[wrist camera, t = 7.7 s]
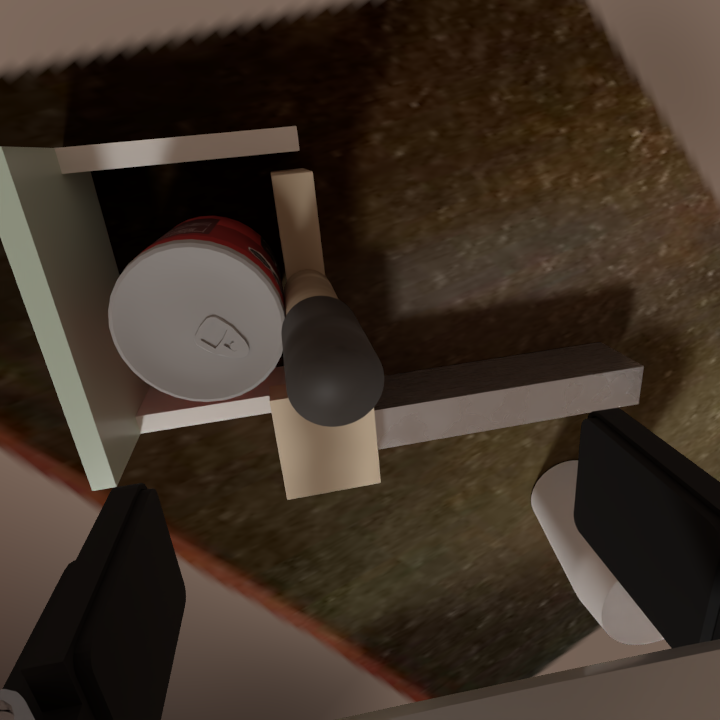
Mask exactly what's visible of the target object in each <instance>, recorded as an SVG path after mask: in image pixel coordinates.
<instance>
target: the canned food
mask: <svg viewBox="0 0 720 720" xmlns="http://www.w3.org/2000/svg"><path fill="white" fill-rule="evenodd" d="M285 317H286V310H285V302H284V294H283V287H282V280H281V273H280V267H279V264H278V262H277V259H276V256H275V254H274V253H273V251H272V249H271V248H270V246H269V245H268V243H267V242H266V241H265V240H264V239H263V238H262V237H261V236H260V235H259V234H258V233H257V232H255V231H254V230H253V229H252V228H250V227H248V226H247V225H245V224H243V223H241V222H239V221H236V220H233V219H230V218H227V217H221V216H199V217H196V218H192V219H188V220H186V221H184V222H182V223H180V224H178V225H177V226H175V227H174V228H173V229H171V230H170V231H169V232H167V233H166V234H165V235H163V236H162V237H161V238H159V239H158V240H157V241H155V242H154V243H153V244H151V245H150V246H149V247H147V248H146V249H145V250H144V251H143V252H141V253H140V254H139V255H138V256H137V257H135V258H134V259H133V260H132V261H131V262H130V263H129V264H128V265H127V266H126V268H125V269H124V270H123V272H122V273H121V275H120V276H119V277H118V280H117V281H116V284H115V286H114V288H113V291H112V293H111V296H110V302H109V308H108V318H109V329H110V332H111V335H112V339H113V342H114V344H115V346H116V348H117V350H118V352H119V354H120V355H121V357H122V359H123V360H124V361H125V362H126V364H127V365H128V366H129V367H130V369H131V370H132V371H133V372H134V373H135V374H136V375H138V376H139V377H140V378H141V379H142V380H143V381H145V382H146V383H148V384H149V385H151V386H153V387H154V388H156V389H158V390H159V391H161V392H164V393H166V394H169V395H171V396H174V397H176V398H181V399H186V400H190V401H201V402H212V401H221V400H227V399H230V398H234V397H237V396H240V395H242V394H244V393H246V392H248V391H250V390H252V389H254V388H255V387H256V386H258V385H259V384H260V383H261V382H263V381H264V380H265V379H266V378H267V377H268V376H269V374H270V373H271V372H272V371H273V370H274V368H275V366H276V365H277V363H278V361H279V359H280V357H281V355H282V351H283V347H282V336H281V331H282V324H283V321H284V319H285Z"/></svg>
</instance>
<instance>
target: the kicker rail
mask: <svg viewBox="0 0 720 720" xmlns="http://www.w3.org/2000/svg"><path fill="white" fill-rule="evenodd" d="M643 369H644V366H643V365H641V364H639V363H637V362H635V361H634V360H632V359H630V358H628V357H627V356H625V355H623V354H621V353H619V352H618V351H616V350H614V349H612V348H610V347H609V346H607V345H605V344H603V343H601V342H598V343H591V344H585V345H579V346H572V347H566V348H559V349H553V350H547V351H540V352H534V353H527V354H521V355H515V356H508V357H502V358H495V359H489V360H483V361H476V362H470V363H463V364H457V365H451V366H444V367H438V368H431V369H425V370H419V371H412V372H406V373H399V374H393V375H387V376H384V387H383V391H382V394H381V396H380V399H379V400H378V402H377V404H376V405H375V406H374V413H375V424H376V436H377V447H378V449H384V448H389V447H395V446H401V445H407V444H412V443H418V442H424V441H429V440H435V439H441V438H447V437H452V436H458V435H464V434H470V433H475V432H481V431H487V430H493V429H498V428H504V427H510V426H515V425H521V424H527V423H533V422H538V421H544V420H550V419H556V418H561V417H567V416H573V415H579V414H584V413H590V412H592V411H598V410H605V409H611V408H619V407H624V406H630V405H636V404H639V397H640V390H641V383H642V376H643Z"/></svg>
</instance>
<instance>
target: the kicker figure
mask: <svg viewBox="0 0 720 720" xmlns="http://www.w3.org/2000/svg"><path fill="white" fill-rule="evenodd" d="M270 173H271V180H272V187H273V193H274V200H275V207H276V213H277V220H278V227H279V234H280V240H281V247H282V254H283V260H284V267H285V274H286V280H287V282H286V284H285V287H284V302H285V310H286V317H285V319H284V321H283V324H282V331H281V336H282V347H283V358H284V369H285V380H286V384H282V385H275V386H269V398H270V406H271V412H272V417H273V423H274V429H275V434H276V440H277V445H278V451H279V456H280V462H281V467H282V473H283V479H284V484H285V490H286V495H287V500H289V499H295V498H300V497H306V496H311V495H317V494H322V493H328V492H333V491H338V490H344V489H349V488H355V487H360V486H366V485H371V484H377V483H381V480H380V469H379V458H378V447H377V436H376V424H375V413H374V406H375V405H376V404H377V402H378V400H379V399H380V396H381V394H382V391H383V387H384V371H383V367H382V364H381V362H380V360H379V358H378V356H377V354H376V352H375V351H374V349H373V347H372V345H371V343H370V342H369V340H368V338H367V336H366V334H365V333H364V331H363V329H362V327H361V326H360V324H359V322H358V320H357V318H356V317H355V315H354V313H353V312H352V310H351V309H350V308H349V307H348V306H347V305H346V304H345V303H343V302H342V301H340V300H339V299H338V297H337V295H336V293H335V291H334V289H333V287H332V285H331V283H330V282H329V280H328V279H327V277H326V276H325V271H324V263H323V254H322V246H321V237H320V229H319V220H318V212H317V204H316V195H315V187H314V178H313V172H312V171H309V170H307V169H304V168H300V169H290V170H280V171H271V172H270Z"/></svg>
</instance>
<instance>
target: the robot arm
mask: <svg viewBox="0 0 720 720" xmlns="http://www.w3.org/2000/svg"><path fill="white" fill-rule="evenodd" d="M574 522H575V525H576V528H577V530H578V531H579V533H580V534H581V535H582V536H583V538H584V539H585V540H586V541H587V543H588V544H589V545H590V546H591V548H592V549H593V550H594V551H595V553H596V554H597V555H598V557H599V558H600V559H601V560H602V562H603V563H604V564H605V565H606V567H607V568H608V569H609V570H610V572H611V573H612V574H613V575H614V577H615V578H616V579H617V580H618V582H619V583H620V584H621V585H622V587H623V588H624V589H625V590H626V592H627V593H628V594H629V595H630V597H631V598H632V599H633V600H634V602H635V603H636V604H637V605H638V607H639V608H640V609H641V610H642V612H643V613H644V614H645V615H646V617H647V618H648V619H649V620H650V622H651V623H652V624H653V625H654V627H655V628H656V629H657V630H658V632H659V633H660V634H661V635H662V637H663V638H664V639H665V640H666V642H667V643H668V644H669V645H670V646H671V648H672V649H668V650H662V651H658V652H653V653H648V654H643V655H638V656H634V657H628V658H624V659H619V660H615V661H609V662H605V663H600V664H595V665H590V666H585V667H580V668H575V669H570V670H565V671H561V672H556V673H551V674H546V675H542V676H537V677H532V678H528V679H523V680H518V681H513V682H509V683H504V684H499V685H495V686H490V687H485V688H480V689H476V690H471V691H466V692H462V693H457V694H452V695H448V696H443V697H438V698H434V699H429V700H424V701H420V702H415V703H410V704H405V705H401V706H396V707H392V708H387V709H383V710H378V711H373V712H369V713H364V714H360V715H355V716H350V717H346V718H342V719H337V720H720V482H719V481H717V480H716V479H715V478H713V477H712V476H711V475H709V474H708V473H707V472H705V471H704V470H703V469H701V468H700V467H698V466H697V465H696V464H694V463H693V462H692V461H690V460H689V459H688V458H686V457H685V456H684V455H682V454H681V453H680V452H678V451H677V450H675V449H674V448H673V447H671V446H670V445H669V444H667V443H666V442H665V441H663V440H662V439H661V438H659V437H658V436H656V435H655V434H654V433H652V432H651V431H650V430H648V429H647V428H646V427H644V426H643V425H642V424H640V423H639V422H637V421H636V420H635V419H633V418H632V417H631V416H629V415H628V414H627V413H625V412H624V411H623V410H621V409H619V408H611V409H605V410H598V411H592V412H591V413H590V414H589V415H588V418H587V419H585V420H583V422H582V425H581V435H580V446H579V458H578V469H577V481H576V492H575V503H574ZM185 602H186V591H185V586H184V582H183V578H182V575H181V572H180V568H179V565H178V561H177V558H176V555H175V551H174V548H173V545H172V541H171V538H170V535H169V531H168V528H167V525H166V521H165V518H164V514H163V511H162V508H161V504H160V501H159V498H158V494H157V492H156V490H155V489H147V487H146V486H145V484H143V483H140V484H133V485H127V486H121V487H115V488H113V489H112V490H111V492H110V494H109V496H108V498H107V500H106V502H105V504H104V506H103V508H102V510H101V512H100V514H99V516H98V517H97V520H96V522H95V523H94V525H93V528H92V530H91V531H90V534H89V535H88V537H87V540H86V541H85V543H84V545H83V547H82V549H81V551H80V553H79V555H78V557H77V559H76V560H75V561H73V562H71V563H70V564H69V565H68V566H67V568H66V569H65V570H64V572H63V574H62V576H61V578H60V580H59V582H58V584H57V586H56V587H55V589H54V591H53V593H52V595H51V597H50V599H49V601H48V603H47V605H46V607H45V609H44V611H43V613H42V614H41V616H40V618H39V620H38V622H37V624H36V626H35V628H34V630H33V632H32V634H31V635H30V637H29V639H28V641H27V643H26V645H25V647H24V649H23V651H22V653H21V655H20V656H19V659H18V660H17V662H16V664H15V666H14V668H13V670H12V672H11V674H10V676H9V678H8V679H7V681H6V683H5V685H4V687H3V689H1V690H0V720H161V716H162V711H163V707H164V702H165V697H166V693H167V688H168V683H169V679H170V674H171V669H172V664H173V660H174V655H175V650H176V645H177V641H178V636H179V631H180V627H181V621H182V617H183V613H184V608H185Z"/></svg>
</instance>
